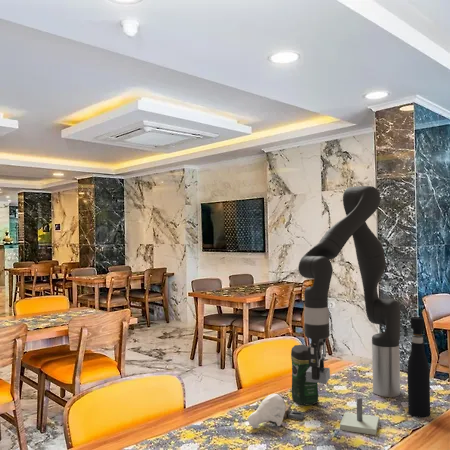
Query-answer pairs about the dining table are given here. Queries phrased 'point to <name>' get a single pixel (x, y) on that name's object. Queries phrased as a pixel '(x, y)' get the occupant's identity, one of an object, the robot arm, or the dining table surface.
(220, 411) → the dining table surface
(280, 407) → the white lumpy piece
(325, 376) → the link
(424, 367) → the black water bottle
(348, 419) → the peg stand
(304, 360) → the coffee jar
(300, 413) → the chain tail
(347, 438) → the dining table surface
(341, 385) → the dining table surface
